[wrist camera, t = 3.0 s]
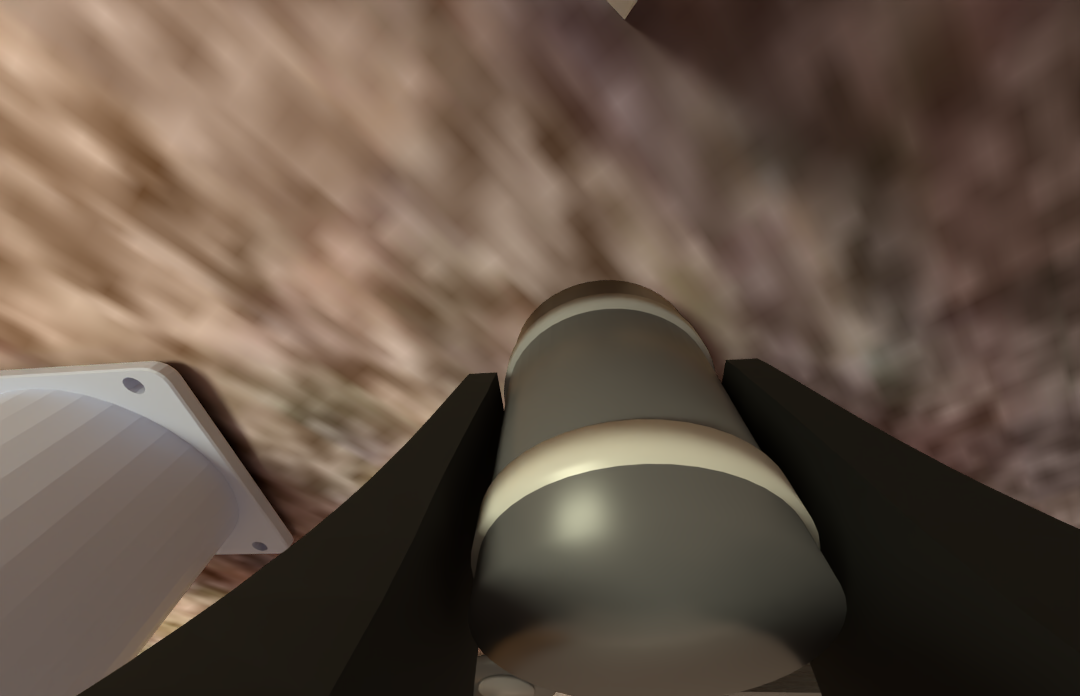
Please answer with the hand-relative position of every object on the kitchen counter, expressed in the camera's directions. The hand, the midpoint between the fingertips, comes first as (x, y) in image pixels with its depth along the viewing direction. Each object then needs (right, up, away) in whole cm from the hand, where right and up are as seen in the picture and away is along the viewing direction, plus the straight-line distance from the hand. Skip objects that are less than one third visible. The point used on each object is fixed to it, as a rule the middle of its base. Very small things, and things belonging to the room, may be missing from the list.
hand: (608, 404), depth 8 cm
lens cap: (-3, -15, +12) cm, 20 cm away
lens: (0, +1, +1) cm, 2 cm away
